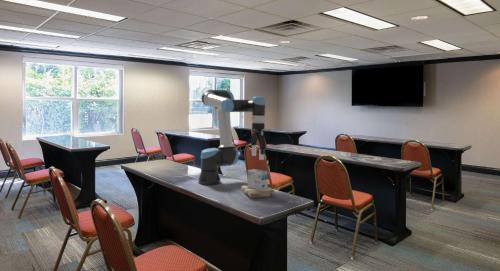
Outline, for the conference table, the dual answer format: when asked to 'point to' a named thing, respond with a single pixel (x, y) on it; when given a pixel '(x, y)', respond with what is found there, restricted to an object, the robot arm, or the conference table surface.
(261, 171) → the light bulb box
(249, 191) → the wavy wood-grain tile
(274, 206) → the conference table surface
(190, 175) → the conference table surface
